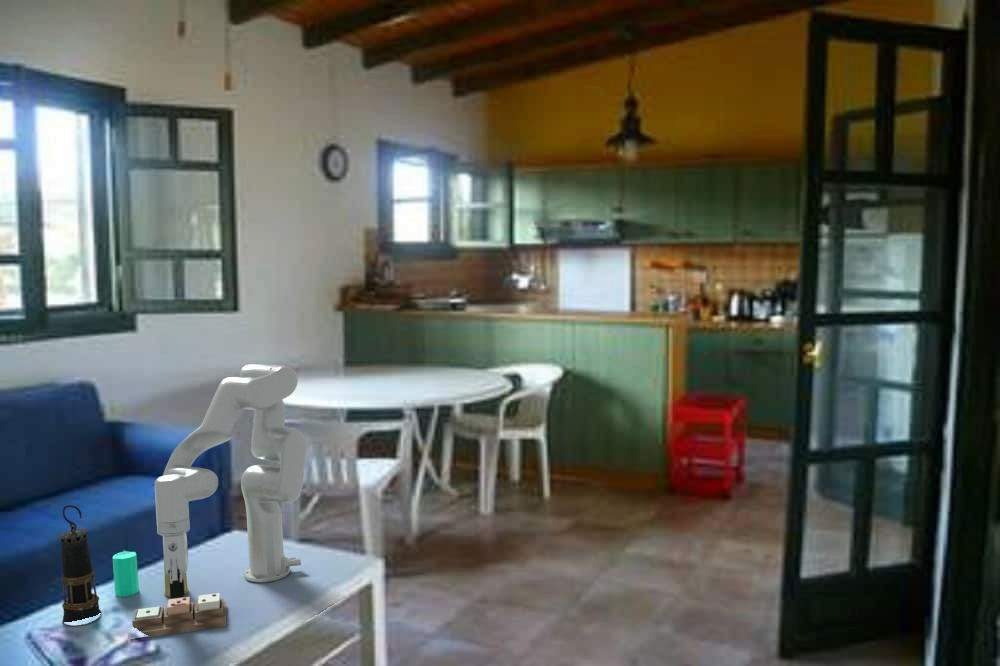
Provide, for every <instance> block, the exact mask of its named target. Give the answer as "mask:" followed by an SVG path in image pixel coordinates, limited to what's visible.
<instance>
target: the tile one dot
mask: <svg viewBox="0 0 1000 666" xmlns="http://www.w3.org/2000/svg"><path fill="white" fill-rule="evenodd" d="M160 607H161V606H160V605H159V606H154V607H145V608H138V609H137V610H138V612H137V616H136V620H138V619H145V618H152V617H159V616H160Z"/></svg>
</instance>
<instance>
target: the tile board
mask: <svg viewBox="0 0 1000 666" xmlns="http://www.w3.org/2000/svg"><path fill="white" fill-rule="evenodd" d="M167 606H168V605H166V606H165V609H164V605H161V606H160V616H159V617H152V618H145V619H138V620H136V616H137V612H138V609H135V610H134V614H133V617H132V621H131V622H132V623H131V626H132V625H133V627H134V628H137V629H138V630H139V631H141V632H142V633H144V634H146V635H148V636H153V637H154V636H155V637H161V636H162V637H163V636H169V635H175V634H182V633H189V632H196V631H203V630H211V629H217V628H226V626H227V601H224V598H223V597H222V598H220V608H219V609H212V610H205V611H199V610H198V601H196V602H195V603H194V601H193V602H192V601H191V602H190V613H182V614H175V615H168V612H167ZM153 637H152V638H153Z"/></svg>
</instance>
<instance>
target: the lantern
mask: <svg viewBox="0 0 1000 666" xmlns="http://www.w3.org/2000/svg"><path fill="white" fill-rule="evenodd" d="M67 508H72V509H75V510H77V513H78V514H79V519H80V520H81V519H82V517H83V516H82V515H83V514H82V512H81V510H80V508H79V507H77V506H76V505H70V504H67V505H64V506H63V509H62V517H63V519H64V520H65V521H66V522H67V523H69V526H70V530H68V531H66V532H62V533H60V534H58V536H57V538H58V539H60V547H61V564H62V565H61V566H62V576H61V584H62V590H63V592H62V593H63V603H62V606H61V607H62V609H63V616H62V623H63V622H72V621H77V620H82V619H85V618H89V617H93V616H96V615H98V614H99V613H102V611H101V609H100V604H99V602H100V601H99V600H100V597H99V596H98V595H97V588H96V582H95V578H96V577H95V576H96V575H95V571H94V569H93V568H94V567H93V564H92V558H91V554H90V549H89V548H90V546H89V541H88V536H87V535H88V534H89V531H90V530H89V529H83V528H81V529H77V528H78V527H77V524H76V523H75V522H73V521H71V520H69V519H68V518H67V517H66V513H65V511H66V509H67ZM92 585H93V587H92ZM92 588H93V592H92ZM66 590H67V591H66ZM66 592H67V596H66ZM66 597H67V598H66Z"/></svg>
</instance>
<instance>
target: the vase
mask: <svg viewBox="0 0 1000 666" xmlns="http://www.w3.org/2000/svg"><path fill="white" fill-rule="evenodd" d="M162 553H163V555H164V549H163V551H162ZM163 568H164V571H163V572H164V596H166V597H168V598H169V597H170V574H169V575H167V574H166V570H165V561H164V560H163ZM183 579H184V592H185V594H184V595H186V594H187V593H189V586H188V578H187V572H186V573H184V572H183ZM183 579H182V580H183ZM170 598H171V597H170Z"/></svg>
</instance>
